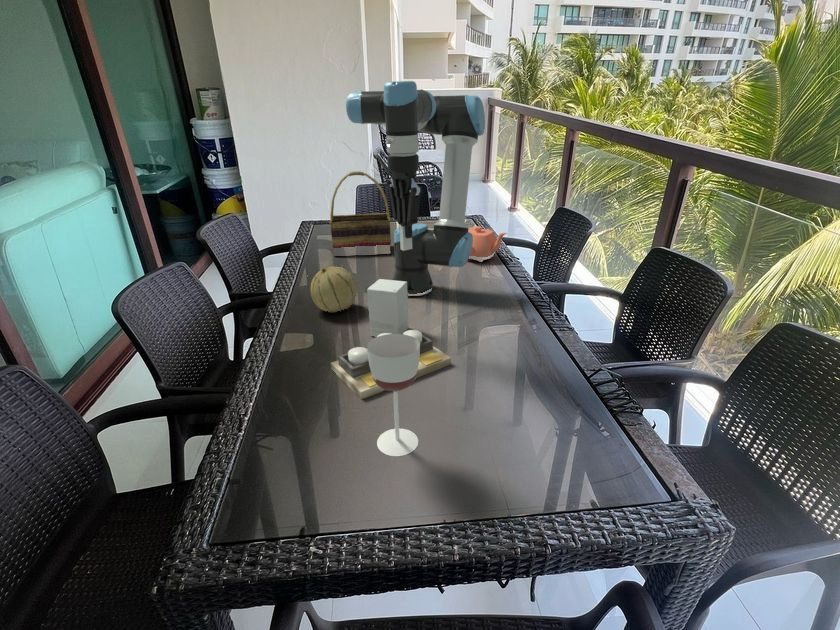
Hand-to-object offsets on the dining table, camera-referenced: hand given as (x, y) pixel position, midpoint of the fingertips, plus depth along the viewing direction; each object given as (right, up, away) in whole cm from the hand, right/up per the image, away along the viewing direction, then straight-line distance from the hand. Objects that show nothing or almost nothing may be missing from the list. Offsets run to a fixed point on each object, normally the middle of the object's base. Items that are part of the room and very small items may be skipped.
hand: (406, 248), depth 120 cm
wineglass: (-1, -43, -28) cm, 51 cm away
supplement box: (-5, -22, +16) cm, 28 cm away
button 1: (-12, -29, -6) cm, 32 cm away
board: (-4, -30, -2) cm, 31 cm away
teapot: (+28, +7, +77) cm, 82 cm away
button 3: (+2, -25, +3) cm, 26 cm away
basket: (-23, +11, +89) cm, 93 cm away
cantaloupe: (-24, -16, +31) cm, 42 cm away
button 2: (-5, -26, -2) cm, 27 cm away
